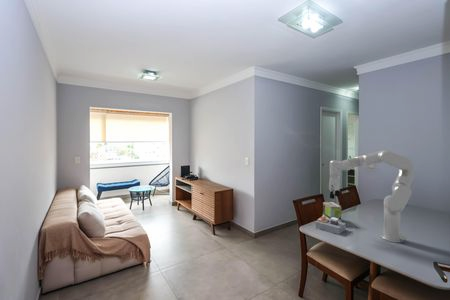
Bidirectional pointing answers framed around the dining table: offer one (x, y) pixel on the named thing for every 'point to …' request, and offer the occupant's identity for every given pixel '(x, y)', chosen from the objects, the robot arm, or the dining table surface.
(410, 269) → the dining table surface
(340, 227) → the socket block
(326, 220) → the shutter
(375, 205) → the dining table surface
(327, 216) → the tea box
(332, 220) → the plug
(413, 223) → the dining table surface
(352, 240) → the dining table surface
